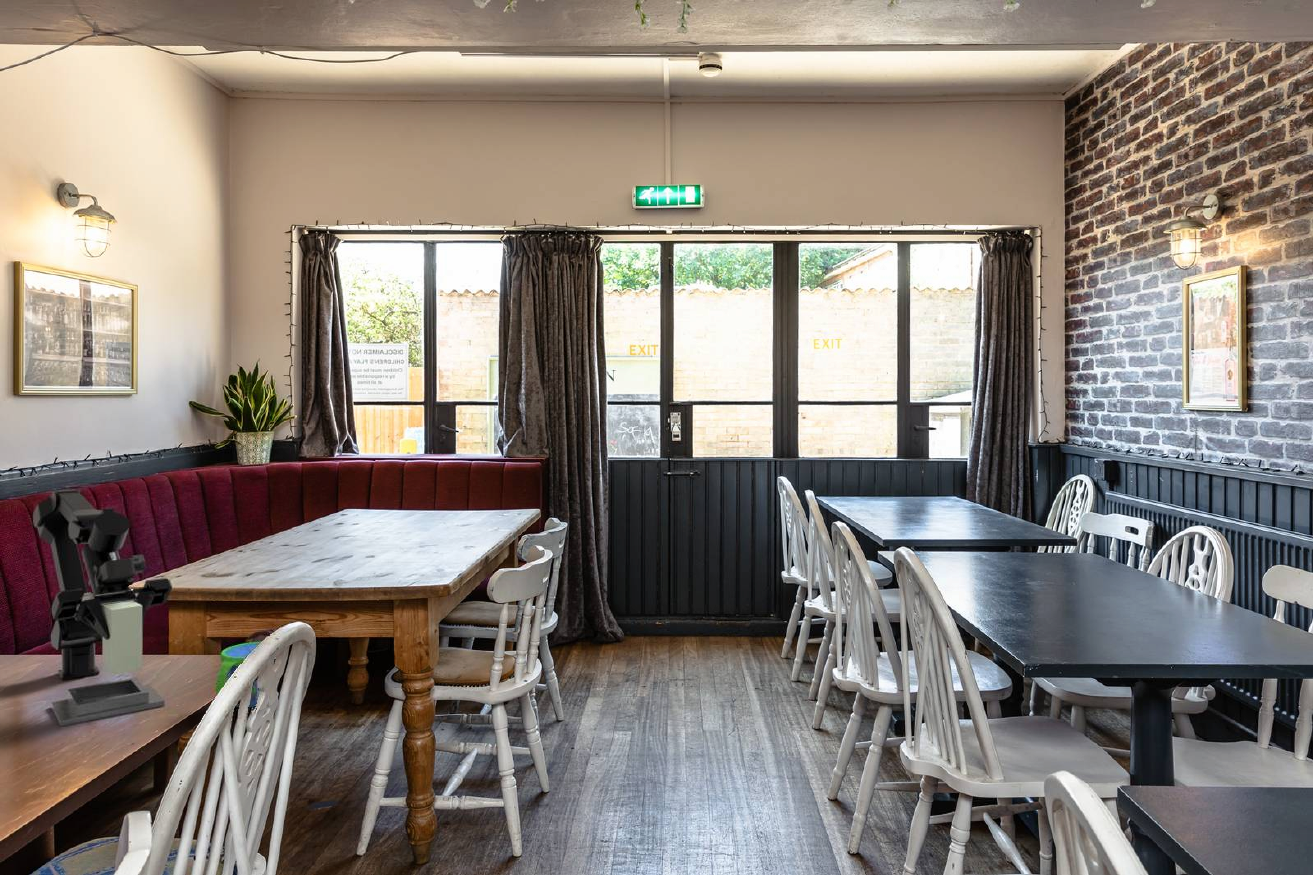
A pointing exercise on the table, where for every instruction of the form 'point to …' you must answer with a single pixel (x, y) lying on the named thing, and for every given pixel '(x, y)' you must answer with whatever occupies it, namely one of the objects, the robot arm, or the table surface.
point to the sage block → (123, 637)
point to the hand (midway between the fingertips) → (124, 635)
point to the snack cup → (236, 666)
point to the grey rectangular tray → (105, 701)
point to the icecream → (259, 636)
